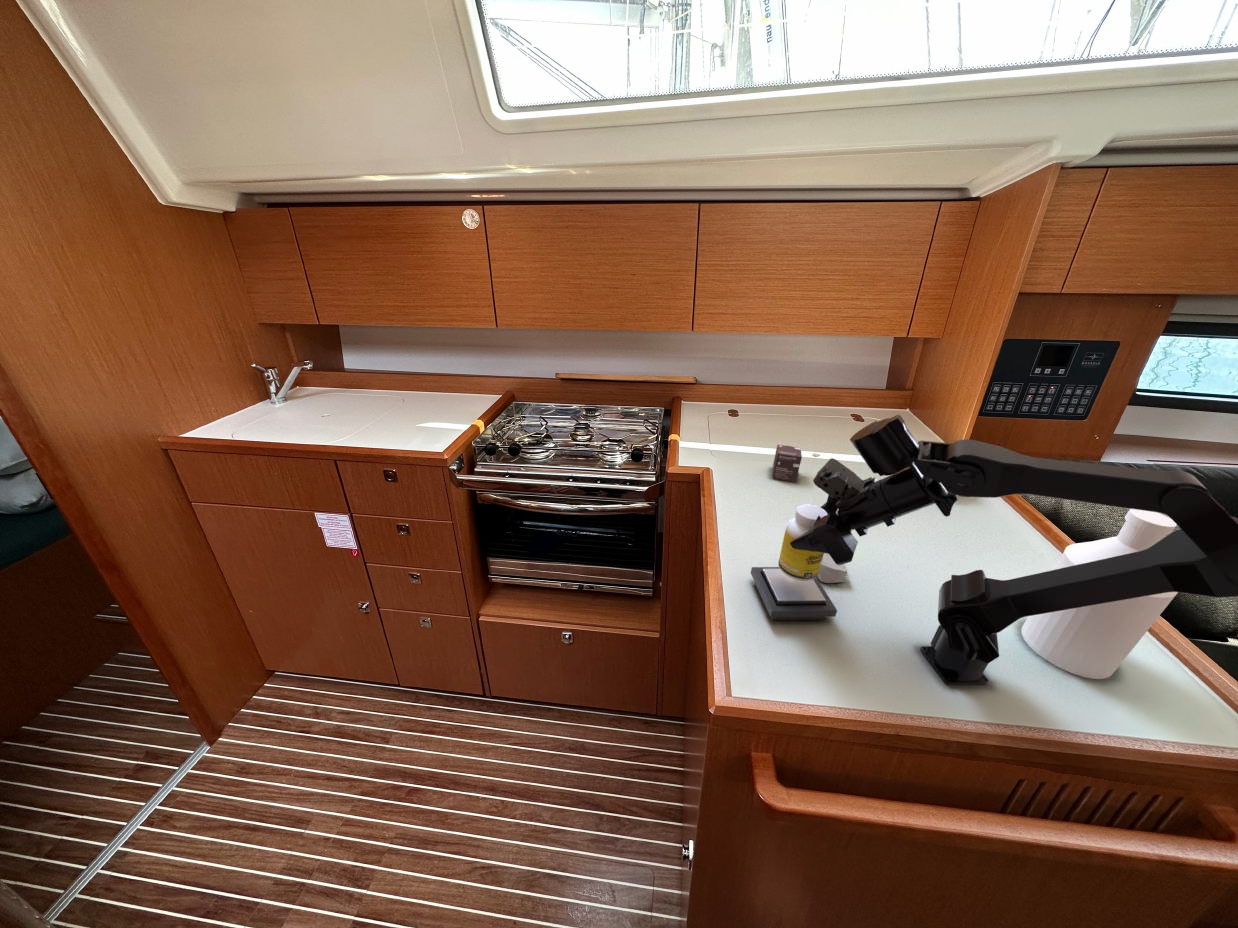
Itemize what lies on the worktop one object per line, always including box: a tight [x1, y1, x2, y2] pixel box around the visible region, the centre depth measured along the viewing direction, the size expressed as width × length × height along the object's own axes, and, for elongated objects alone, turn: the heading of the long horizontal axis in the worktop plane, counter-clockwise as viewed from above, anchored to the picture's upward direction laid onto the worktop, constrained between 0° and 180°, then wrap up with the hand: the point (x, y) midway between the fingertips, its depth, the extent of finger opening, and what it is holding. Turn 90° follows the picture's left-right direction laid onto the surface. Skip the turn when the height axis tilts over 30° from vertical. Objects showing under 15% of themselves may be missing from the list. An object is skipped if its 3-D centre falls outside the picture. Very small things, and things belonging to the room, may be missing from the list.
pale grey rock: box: [817, 553, 848, 584], centre depth 90 cm, size 10×6×6 cm, turn 168°
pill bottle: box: [777, 503, 828, 581], centre depth 76 cm, size 6×6×12 cm
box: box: [771, 444, 803, 483], centre depth 122 cm, size 6×6×7 cm
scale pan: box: [762, 569, 826, 606], centre depth 81 cm, size 8×8×1 cm
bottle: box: [1021, 508, 1179, 680], centre depth 69 cm, size 12×12×25 cm
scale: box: [750, 566, 838, 621], centre depth 81 cm, size 11×11×3 cm
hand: (797, 535), depth 77 cm, fingers closed on pill bottle, 6 cm apart
